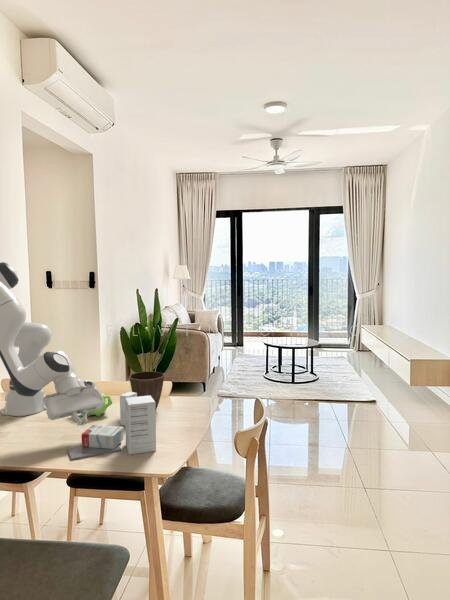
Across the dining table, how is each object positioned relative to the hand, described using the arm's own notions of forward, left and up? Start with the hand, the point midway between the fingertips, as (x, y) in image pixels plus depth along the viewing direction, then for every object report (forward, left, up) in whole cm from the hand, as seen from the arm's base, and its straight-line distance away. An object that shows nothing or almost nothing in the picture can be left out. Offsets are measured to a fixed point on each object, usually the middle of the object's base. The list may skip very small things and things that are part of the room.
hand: (83, 423), depth 147 cm
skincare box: (-14, +20, -8) cm, 25 cm away
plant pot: (-25, +31, -8) cm, 40 cm away
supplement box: (+12, +17, -8) cm, 22 cm away
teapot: (-32, +10, -8) cm, 34 cm away
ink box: (+1, +1, -4) cm, 4 cm away
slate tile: (+7, +2, -7) cm, 10 cm away
